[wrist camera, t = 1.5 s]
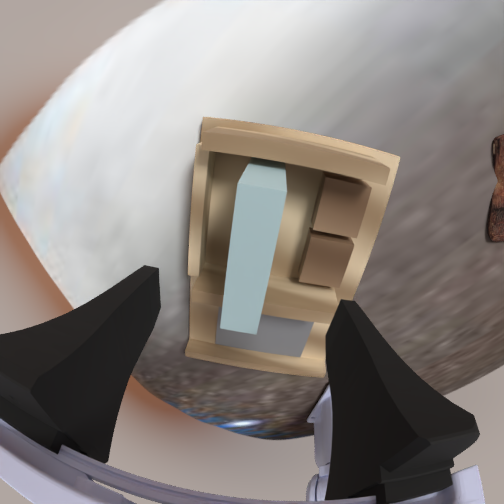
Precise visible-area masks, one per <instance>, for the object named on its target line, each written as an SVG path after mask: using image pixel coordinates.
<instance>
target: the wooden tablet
mask: <svg viewBox="0 0 504 504" xmlns="http://www.w3.org/2000/svg"><path fill="white" fill-rule="evenodd" d="M493 158H494V170H495V174H496V177H497V179H498V183H497V185H496V187H495V189H494V192H493V195H492V199H491V204H490V211H489V219H488V234H489V237H490V238H491V240H493V241H495V242H499V241H504V134H503V135H500V136H497V137H496V138H495V139H494V142H493Z"/></svg>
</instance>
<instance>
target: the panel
mask: <svg viewBox="0 0 504 504" xmlns="http://www.w3.org/2000/svg"><path fill="white" fill-rule="evenodd" d="M286 194H287V184H286V170H285V162H279V161H274V160H268V159H262V158H256V157H252V158H251V160H250V161H249V163H248V165H247V167H246V169H245V171H244V172H243V174H242V176H241V178H240V180H239V182H238V185H237V192H236V199H235V207H234V215H233V222H232V230H231V238H230V246H229V254H228V263H227V271H226V279H225V288H224V297H223V306H222V315H221V324H220V328H221V329H227V330H232V331H238V332H243V333H249V334H255V335H256V334H257V330H258V326H259V321H260V317H261V312H262V308H263V303H264V299H265V294H266V290H267V285H268V281H269V276H270V271H271V267H272V262H273V257H274V253H275V248H276V243H277V238H278V233H279V229H280V224H281V219H282V214H283V209H284V204H285V199H286Z"/></svg>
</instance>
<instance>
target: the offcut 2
mask: <svg viewBox="0 0 504 504" xmlns="http://www.w3.org/2000/svg"><path fill="white" fill-rule="evenodd" d="M353 248H354V243H353V241H352V239H351V237H347V236H342V235H337V234H332V233H327V232H321V231H316V230H313V228H310V227H309V230H308V234H307V238H306V242H305V246H304V250H303V254H302V257H301V261H300V265H299V269H298V275H299V282H304V283H310V284H317V285H323V286H329V287H335V288H340V285H341V282H342V280H343V277H344V274H345V271H346V269H347V266H348V263H349V260H350V257H351V254H352V251H353Z"/></svg>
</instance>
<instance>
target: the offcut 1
mask: <svg viewBox="0 0 504 504" xmlns="http://www.w3.org/2000/svg"><path fill="white" fill-rule="evenodd" d="M371 190H372V188H371V187H370V186H369V185H368V184H367V183H366V182H365V181H361V180H357V179H353V178H349V177H345V176H341V175H336V174H332V173H327V172H323V171H322V176H321V180H320V185H319V189H318V193H317V197H316V202H315V206H314V210H313V214H312V218H311V223H312V228H313V230H316V231H321V232H327V233H332V234H337V235H342V236H347V237H352V238H357V236H358V233H359V230H360V227H361V224H362V221H363V217H364V214H365V211H366V207H367V204H368V200H369V197H370V194H371Z"/></svg>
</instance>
